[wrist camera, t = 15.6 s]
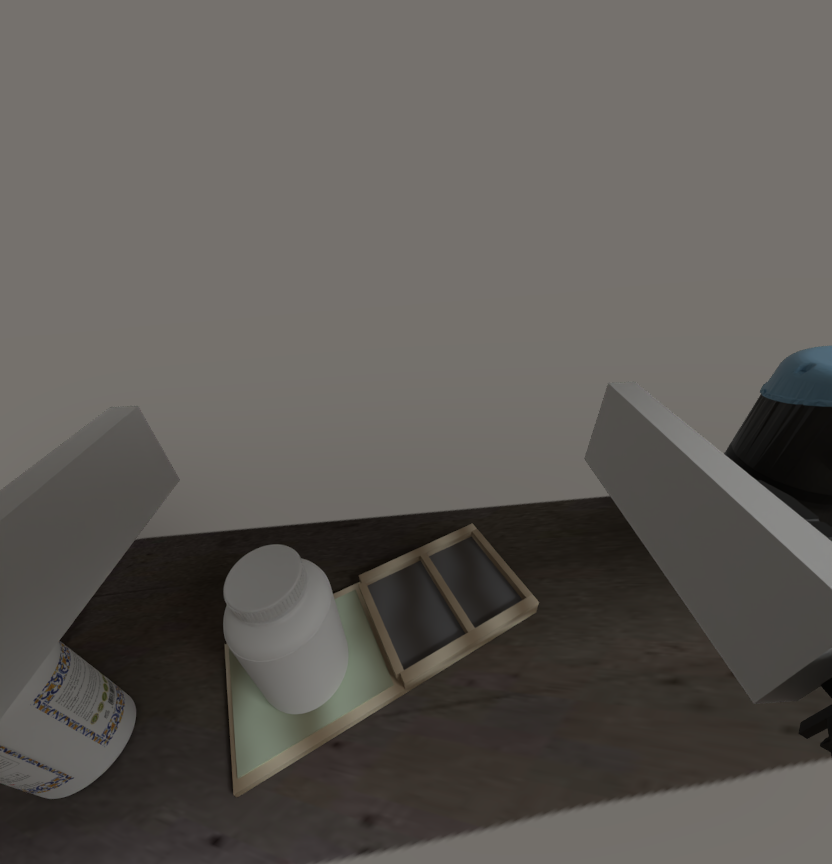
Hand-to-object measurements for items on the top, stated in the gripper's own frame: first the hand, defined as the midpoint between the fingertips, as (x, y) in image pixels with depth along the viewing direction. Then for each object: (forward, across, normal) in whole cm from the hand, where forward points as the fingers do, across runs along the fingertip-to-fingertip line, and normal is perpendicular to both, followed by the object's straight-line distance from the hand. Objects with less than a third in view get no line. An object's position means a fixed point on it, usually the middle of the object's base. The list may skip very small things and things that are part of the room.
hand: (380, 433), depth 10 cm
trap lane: (+10, -3, -32) cm, 33 cm away
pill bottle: (+6, -10, -31) cm, 33 cm away
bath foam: (+2, -28, -32) cm, 42 cm away
